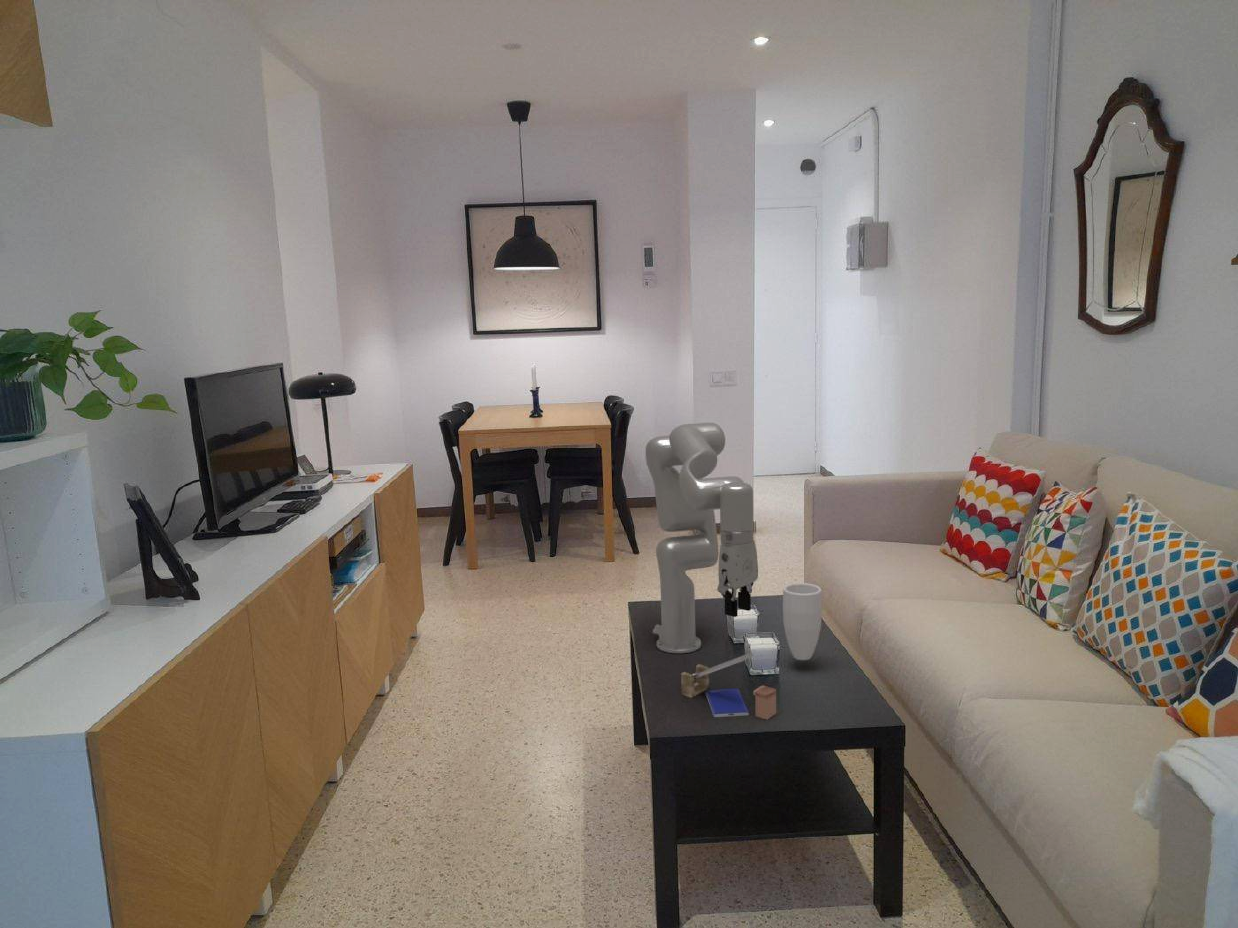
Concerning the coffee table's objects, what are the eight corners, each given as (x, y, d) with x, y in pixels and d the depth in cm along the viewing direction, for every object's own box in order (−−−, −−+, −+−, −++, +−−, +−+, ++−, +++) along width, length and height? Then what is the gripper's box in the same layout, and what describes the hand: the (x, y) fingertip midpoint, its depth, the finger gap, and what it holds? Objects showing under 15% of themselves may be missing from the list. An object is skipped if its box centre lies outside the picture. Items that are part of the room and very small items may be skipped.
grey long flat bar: (689, 681, 205) (687, 676, 205) (699, 676, 208) (696, 671, 208) (744, 661, 193) (741, 656, 193) (753, 656, 195) (751, 651, 196)
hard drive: (705, 690, 205) (713, 713, 193) (738, 688, 205) (748, 710, 193) (705, 696, 205) (714, 719, 193) (738, 694, 205) (749, 717, 193)
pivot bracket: (681, 694, 205) (681, 673, 204) (699, 684, 210) (699, 664, 209) (691, 697, 203) (690, 676, 202) (709, 687, 208) (708, 667, 207)
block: (753, 715, 193) (753, 690, 192) (763, 709, 196) (762, 685, 195) (766, 719, 190) (766, 695, 189) (776, 713, 193) (776, 689, 192)
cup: (773, 667, 219) (773, 588, 216) (797, 656, 226) (797, 579, 223) (807, 678, 212) (807, 597, 208) (830, 666, 218) (831, 587, 215)
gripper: (728, 546, 183) (730, 626, 186) (771, 531, 195) (771, 606, 198) (701, 541, 188) (703, 619, 191) (744, 527, 200) (745, 600, 203)
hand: (737, 611), depth 194 cm, fingers open, 4 cm apart
